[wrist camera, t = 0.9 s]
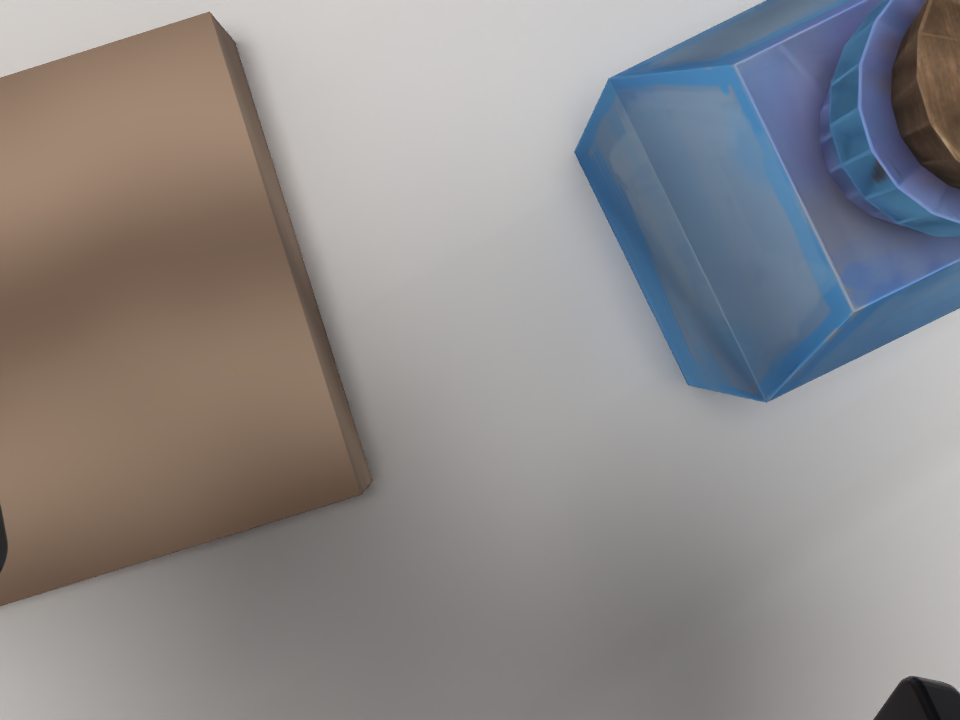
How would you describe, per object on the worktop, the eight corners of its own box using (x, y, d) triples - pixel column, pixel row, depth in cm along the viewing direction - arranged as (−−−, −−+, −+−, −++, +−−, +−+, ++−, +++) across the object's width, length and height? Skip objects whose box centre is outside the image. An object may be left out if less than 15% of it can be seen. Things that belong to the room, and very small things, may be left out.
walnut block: (374, 477, 23) (360, 494, 20) (-50, 608, 23) (-116, 641, 20) (240, 48, 22) (209, 11, 20) (-187, 182, 23) (-270, 163, 20)
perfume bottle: (921, 270, 22) (1444, 187, 10) (688, 385, 22) (927, 438, 10) (808, 36, 22) (1199, -333, 10) (574, 152, 22) (680, -74, 10)
